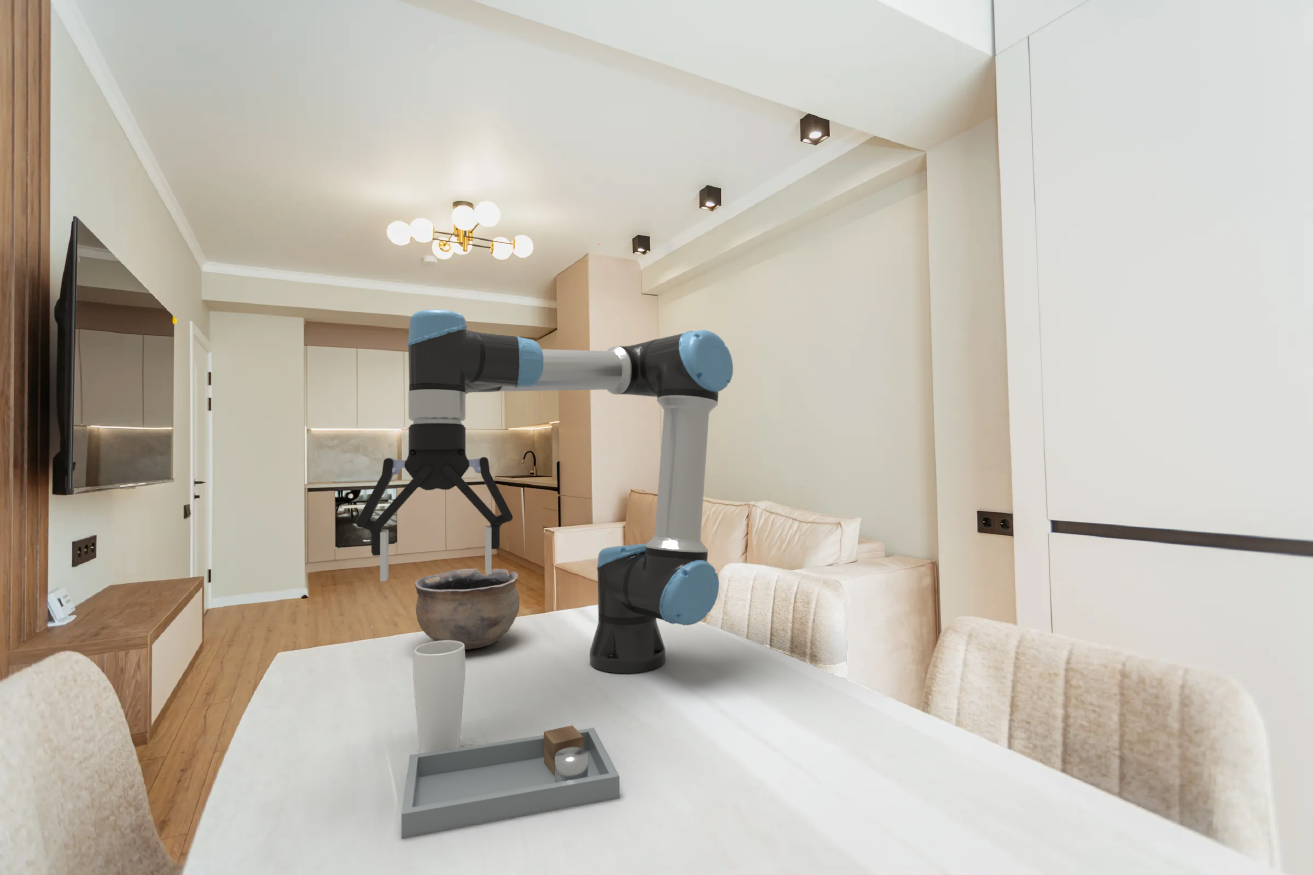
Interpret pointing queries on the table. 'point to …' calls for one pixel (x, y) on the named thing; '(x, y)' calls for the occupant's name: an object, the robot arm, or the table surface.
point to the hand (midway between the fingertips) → (437, 576)
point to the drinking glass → (439, 694)
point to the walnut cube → (559, 743)
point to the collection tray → (498, 784)
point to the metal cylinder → (571, 764)
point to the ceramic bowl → (467, 606)
